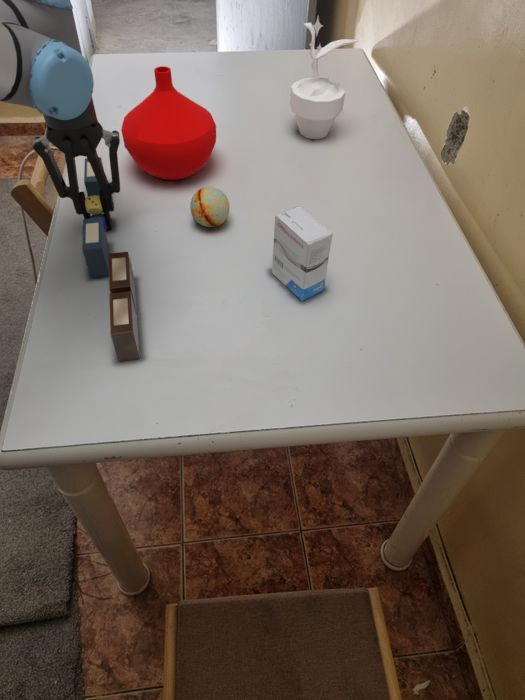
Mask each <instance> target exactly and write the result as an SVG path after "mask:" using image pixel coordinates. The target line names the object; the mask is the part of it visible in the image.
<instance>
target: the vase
mask: <svg viewBox="0 0 525 700" xmlns="http://www.w3.org/2000/svg"><path fill="white" fill-rule="evenodd" d="M153 71H154V73H153V74H154V80H155V88H154V89H153V90H152V92H151V93H150V94H149V95H148V96H147V97H145V99H143V100H142V101H141V102H140V103H138V104H137V105H136V106H135V107H134V108H132V109H131V110H129V111H128V112H127V114H126V115H125V116H124V118H123V120H122V125H121V136H122V141H123V144H124V145H123V146H124V148H125V150H126V151H127V153H128V154H129V155H130V157H131V158H132V160H133V161H134V162H135V164H136V165H137V166H138V167H139V168H141V169H142V171H144V172H146V173H148V174H149V175H150V176H153V177H155V178H158V179H161V180H167V181H177V180H178V181H179V180H183V179H186V178H188V177H189V178H190V177H191V176H193V175H194V174H197V173H198V172H199V171H200V170H201V169H202V168H204V166H205V165H206V163H207V162H208V161H209V160H210V158H211V156H212V153H213V151H214V148H215V146H216V144H217V143H216V142H217V125H216V122H215V120H214V117H213V115H212V113H211V112H210V111H209V110H208V109H207V108H205V107H204V106H202V105H200V104H198V103H197V102H195V101H193V100H192V99H190V98H189V97H187V96H186V95H184V94H183V93H181V92H179V91H178V90H177V88H175V87H174V85H173V77H172V70H171V67H169V66H166V65H165V66H163V65H160V66H157V67H155V68H153Z"/></svg>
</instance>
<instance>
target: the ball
mask: <svg viewBox="0 0 525 700" xmlns="http://www.w3.org/2000/svg"><path fill="white" fill-rule="evenodd" d="M189 207H190V208H189V209H190V214H191V215H192V217H193V219H194V220H195V221H196V222H197V223H198V224H199V225H201V226H203V227H206V228H214V227H215V228H216V227H218V226H220V225H222V224H223V223H224V222H225V221H226V220H227V218H228V216H229V213H230V207H231V206H230V201H229V199H228V197H227V195H226V193H225V192H224V191H223V190H221V189H220V188H218V187H216V186H204V187H201V188H200V189H198V190H196V192H195V193H194V194H193V196H192V197H191V199H190V206H189Z"/></svg>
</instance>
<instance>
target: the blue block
mask: <svg viewBox="0 0 525 700" xmlns="http://www.w3.org/2000/svg"><path fill="white" fill-rule="evenodd" d="M98 157H99V160H100V162H101V165H102V167H103V170H104V171H105V168H104V165H103V164H104V163H103V160H102V157H101V156H98ZM83 172H84V173H83V174H84V175H83V183H84V184H83V185H84V187H85V190H86V195H87V197H89V196H94V195H98V196H100V190H101V189H100V186H99V184H98V182H97V179H96V177H95V174H94V172H93V170H92V167H91V165H90V163H89V162H88V159H87V157H86V158H84V171H83ZM81 248H82V253H83V257H84V260H85V263H86V267H87V270H88V273H89V276H90V279H98V278H106V277H109V253H110V245H109V241H108V236H107V234H106V232H105V229H104V225H103V221H102V218H91V219H84V218H83V219H82V247H81Z"/></svg>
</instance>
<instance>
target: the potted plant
mask: <svg viewBox="0 0 525 700" xmlns="http://www.w3.org/2000/svg"><path fill="white" fill-rule="evenodd" d="M302 26H304V27H305V28H306V29H308V30H309V32H310V35H311V41H310V43H309V44H308V46H310V50H309V55H310V58H311V71H312V77H305V78H302V79H299V80H296V81H295V82H294V83H293V84H292V85H291V86H290V99H289V106H290V110H291V112H292V113H294V114H295V115H294V116H295V118H296V124H297V127H298V132H299V134H300V135H301V136H303V137H304V138H306V139H310V140H320V139H322V138H325V137H327V135H328V134H329V132H330V130H331V128H332V126H333V124H334V122H335V120H336V118H337V117H339V115H341V114H342V112H343V109H344V104H345V103H344V102H345V97H346V91H345V89H344V86H343V85H342V84H340V83H339V82H336V81H335V80H332V79H330V78H329V77H319V76H320V75H319V60H321V58H323V57H325V56H326V55H328V54H330V53H331V52H333V51H334V50H336V49H338V48H340V47H342V46H345V45H350V44H354V43H358V42H359V40H357V39H351V38H346V39H345V38H344V39H338V40H333V41H331V42H329V43H327V44H326V45H325V46H323V47H322V46H321V43H319V45H318V46H317V47H316V49H317V50H318V52H317V54H316V49H315V44H316V43H315V41H316V36H318V34H319V31H320V29H321V28H322V27H323V24H321V23H320V17H319V14H318V15H317V18H316V21H315V22H314V24H312V22H311V21H310V22H304V23H303V24H302Z"/></svg>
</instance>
